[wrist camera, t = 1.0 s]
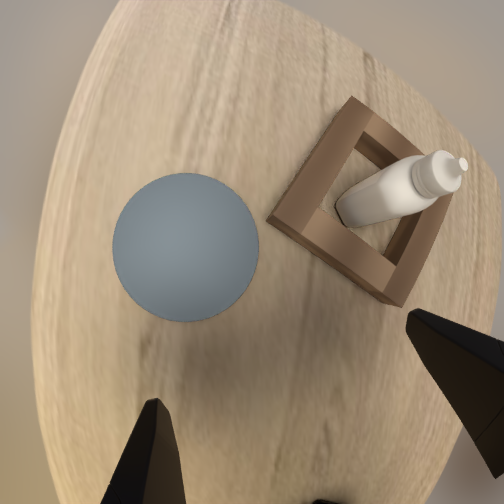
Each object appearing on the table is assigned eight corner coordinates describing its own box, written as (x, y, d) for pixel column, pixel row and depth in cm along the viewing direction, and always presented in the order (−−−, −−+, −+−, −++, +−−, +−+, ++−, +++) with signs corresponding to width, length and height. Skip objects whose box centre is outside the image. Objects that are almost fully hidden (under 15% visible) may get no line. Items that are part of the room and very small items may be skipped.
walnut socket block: (436, 192, 25) (455, 186, 22) (382, 303, 24) (402, 307, 21) (338, 111, 24) (351, 95, 21) (265, 220, 23) (272, 214, 20)
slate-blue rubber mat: (285, 226, 23) (287, 226, 23) (206, 348, 22) (205, 349, 22) (167, 149, 22) (166, 147, 22) (89, 266, 21) (87, 267, 21)
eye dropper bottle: (333, 173, 24) (417, 111, 12) (391, 182, 24) (488, 139, 12) (333, 226, 24) (427, 198, 12) (392, 232, 24) (498, 213, 12)
